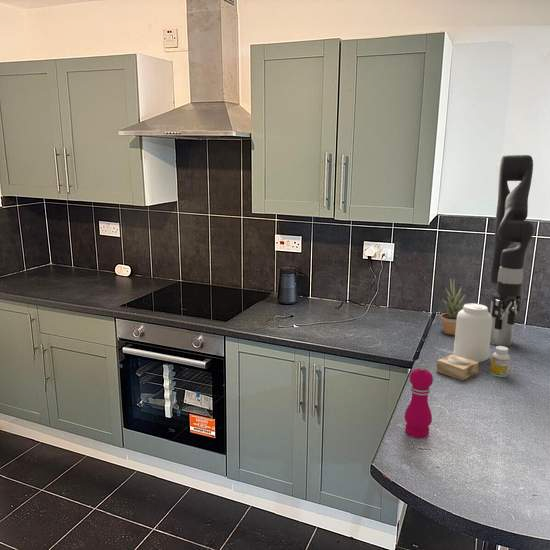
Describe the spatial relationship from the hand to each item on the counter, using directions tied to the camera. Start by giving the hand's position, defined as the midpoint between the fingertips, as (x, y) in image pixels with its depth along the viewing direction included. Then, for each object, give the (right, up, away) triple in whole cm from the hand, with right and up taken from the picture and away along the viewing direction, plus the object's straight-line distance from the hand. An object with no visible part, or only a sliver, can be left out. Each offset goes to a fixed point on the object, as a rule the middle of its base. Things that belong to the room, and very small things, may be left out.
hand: (504, 326), depth 177 cm
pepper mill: (-39, -26, -34) cm, 58 cm away
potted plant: (-3, -7, +46) cm, 47 cm away
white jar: (-4, -13, +20) cm, 24 cm away
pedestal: (-14, -16, +5) cm, 22 cm away
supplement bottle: (0, -17, +4) cm, 18 cm away
